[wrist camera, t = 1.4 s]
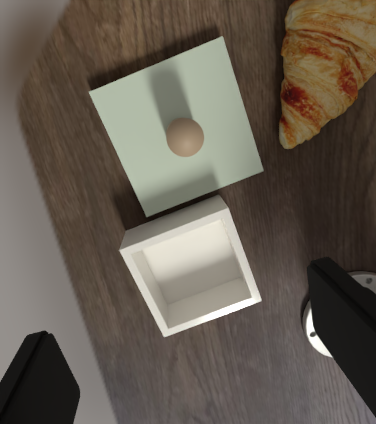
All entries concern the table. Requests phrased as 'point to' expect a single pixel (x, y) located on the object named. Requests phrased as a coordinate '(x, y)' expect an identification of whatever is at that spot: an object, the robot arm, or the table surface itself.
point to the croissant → (324, 63)
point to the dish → (190, 265)
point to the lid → (180, 127)
